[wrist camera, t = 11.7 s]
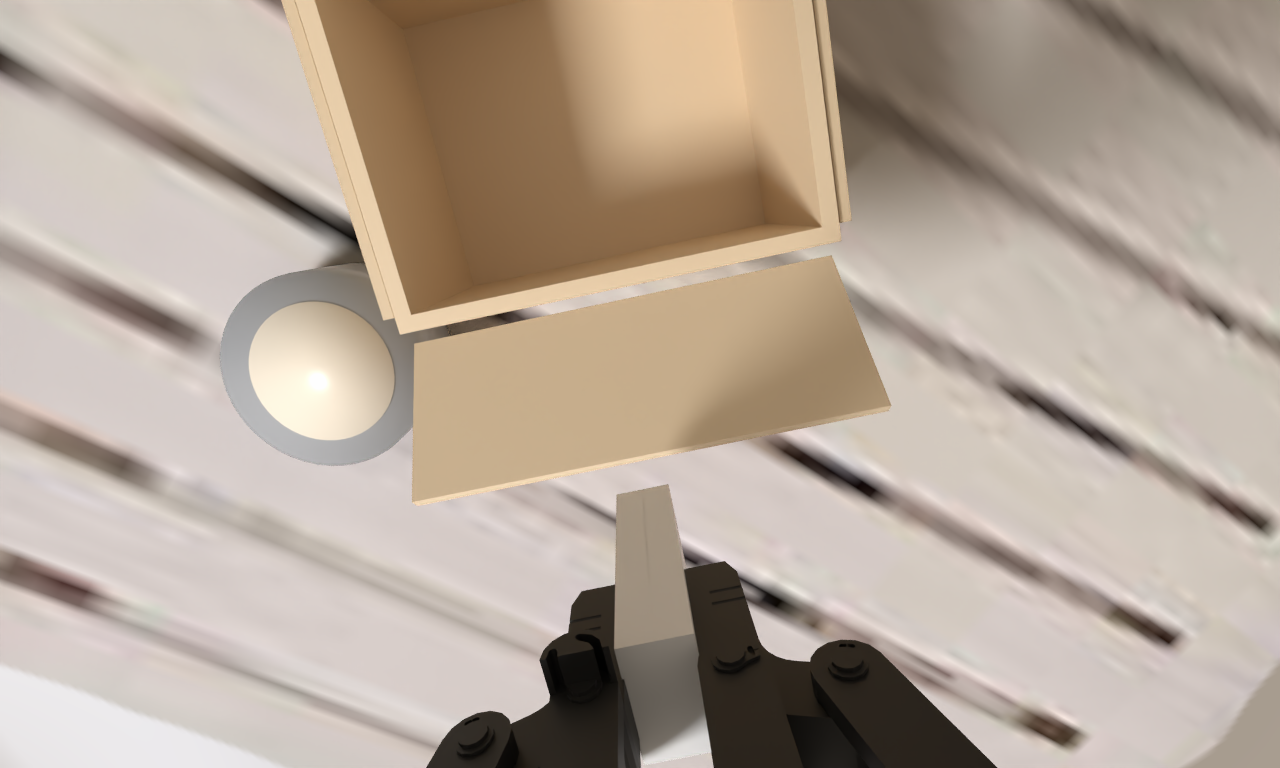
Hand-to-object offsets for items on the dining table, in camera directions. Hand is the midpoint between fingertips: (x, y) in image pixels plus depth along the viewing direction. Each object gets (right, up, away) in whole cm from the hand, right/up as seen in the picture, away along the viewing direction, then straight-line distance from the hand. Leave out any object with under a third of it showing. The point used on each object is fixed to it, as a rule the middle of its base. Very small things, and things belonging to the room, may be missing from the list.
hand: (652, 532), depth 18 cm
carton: (-3, +16, +12) cm, 21 cm away
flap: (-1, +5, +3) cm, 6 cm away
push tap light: (-15, +6, +15) cm, 22 cm away
